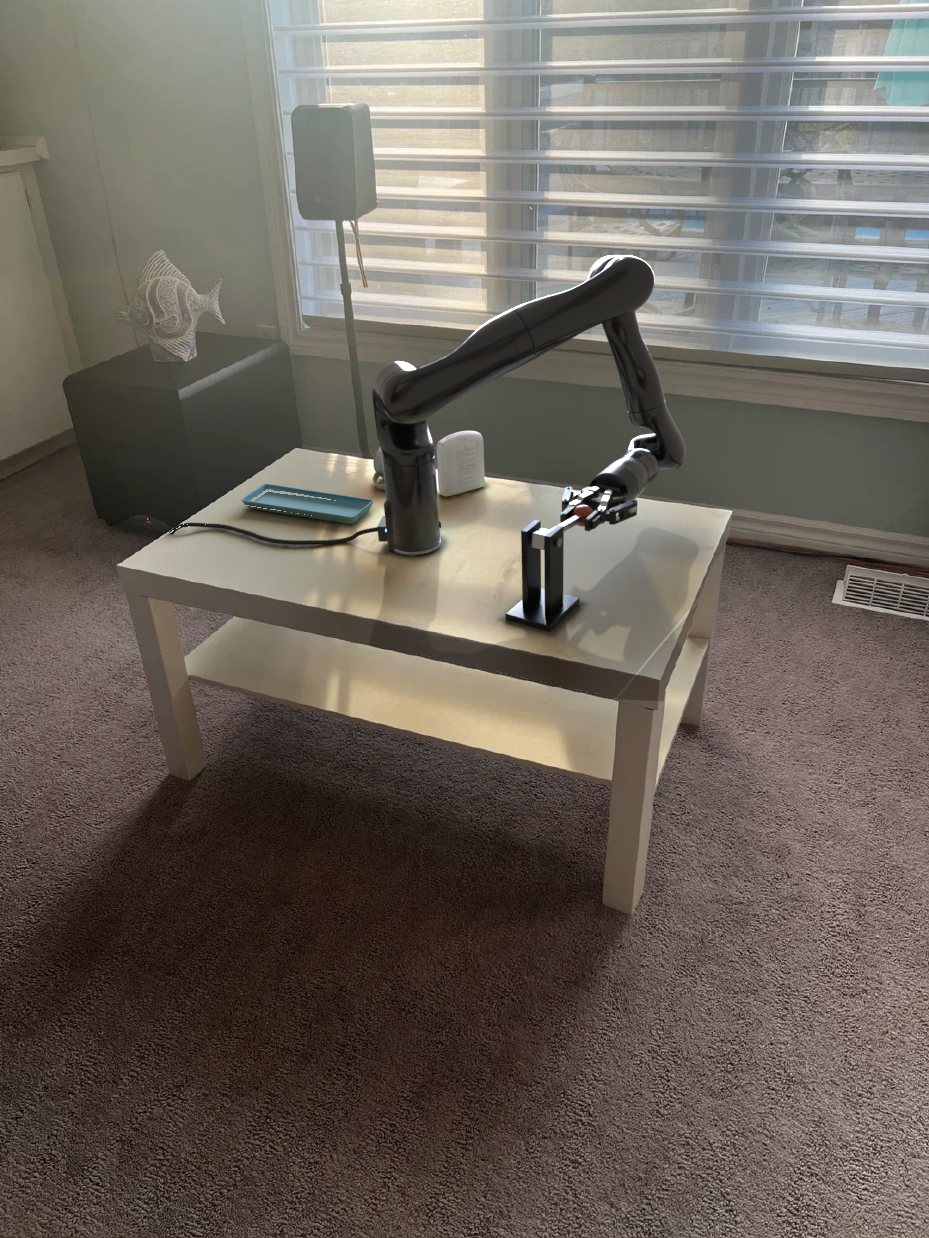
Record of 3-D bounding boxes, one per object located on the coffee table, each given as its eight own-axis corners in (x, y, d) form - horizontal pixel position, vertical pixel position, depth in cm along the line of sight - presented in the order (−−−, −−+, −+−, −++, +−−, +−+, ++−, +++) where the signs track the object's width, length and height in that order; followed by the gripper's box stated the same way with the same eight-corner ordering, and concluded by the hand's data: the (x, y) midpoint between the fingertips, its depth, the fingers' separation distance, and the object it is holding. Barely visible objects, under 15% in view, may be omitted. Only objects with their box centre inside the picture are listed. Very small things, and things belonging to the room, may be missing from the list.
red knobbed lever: (577, 521, 154) (579, 500, 152) (597, 525, 152) (598, 504, 150) (527, 550, 141) (528, 527, 139) (547, 555, 139) (549, 532, 137)
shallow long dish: (376, 508, 185) (374, 497, 184) (354, 527, 178) (352, 515, 176) (267, 493, 194) (265, 483, 193) (241, 511, 187) (239, 499, 186)
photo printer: (476, 480, 195) (474, 424, 189) (488, 486, 192) (486, 429, 185) (435, 493, 190) (431, 435, 184) (446, 499, 187) (443, 441, 181)
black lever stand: (536, 592, 152) (535, 511, 145) (579, 604, 148) (581, 520, 141) (505, 620, 145) (502, 535, 138) (550, 632, 141) (550, 546, 134)
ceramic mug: (391, 470, 202) (387, 437, 198) (423, 475, 199) (420, 441, 195) (364, 488, 195) (360, 454, 190) (396, 494, 191) (392, 459, 187)
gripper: (583, 457, 162) (536, 494, 150) (658, 471, 155) (615, 510, 143) (582, 496, 166) (536, 535, 154) (656, 511, 159) (614, 553, 147)
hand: (575, 523), depth 149 cm, fingers closed on red knobbed lever, 3 cm apart
